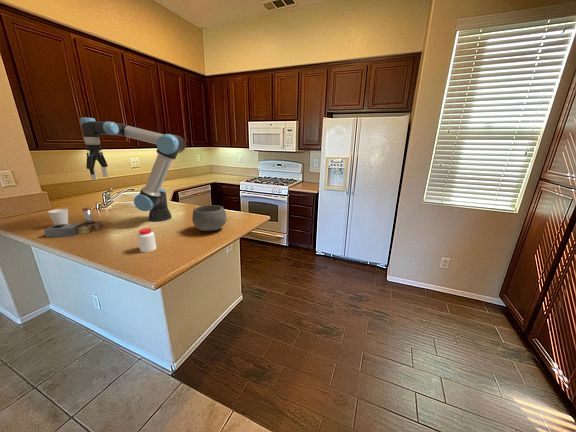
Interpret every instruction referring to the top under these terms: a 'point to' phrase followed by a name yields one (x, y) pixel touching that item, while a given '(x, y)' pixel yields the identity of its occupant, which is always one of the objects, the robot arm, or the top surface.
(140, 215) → the top surface
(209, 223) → the bowl
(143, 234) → the pill bottle
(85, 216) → the cylinder
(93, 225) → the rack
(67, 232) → the socket block
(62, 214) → the cup
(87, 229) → the tan square peg
